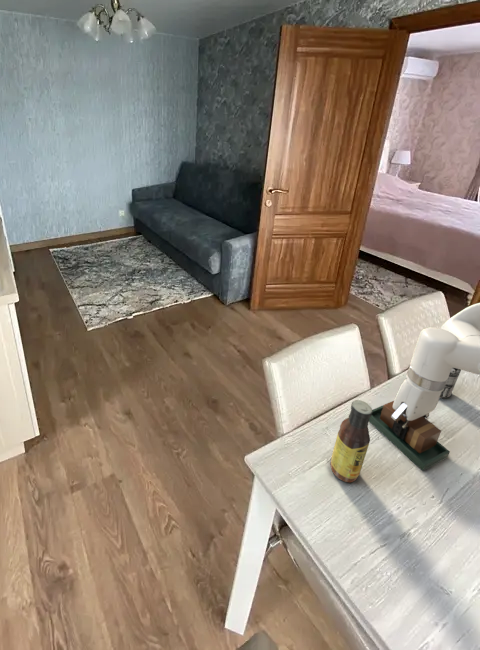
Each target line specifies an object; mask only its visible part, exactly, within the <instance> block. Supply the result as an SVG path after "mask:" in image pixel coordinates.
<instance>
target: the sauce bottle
mask: <svg viewBox="0 0 480 650" xmlns="http://www.w3.org/2000/svg"><path fill="white" fill-rule="evenodd" d="M350 405H351V406H350V413H349V415H348V417H347V418H345V419H344V420H342V421H341V423H340V425H339V430H338V432H337V435H336V438H335V441H334V442H335V444H334V447H333V450H332V453H331V458H330V468H331V472H332V473H333V475H334V476H335V477H336V478H337V479H339V480H340V481H342V482H345V483H353V482H355V481H356V480H357V479H358V478H359V476H360V474H361V470H362V468H363V464H364V461H365V458H366V455H367V452H368V448H369V445H370V442H371V438H370V437H371V436H370V431H369V423H370V422H369V418H370V417H371V416H372V410H373V408H372V406H371V405H370V404H369V403H368V402H366V401H364V400H361V399H354V400H353V401H352V402H351V404H350Z"/></svg>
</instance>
